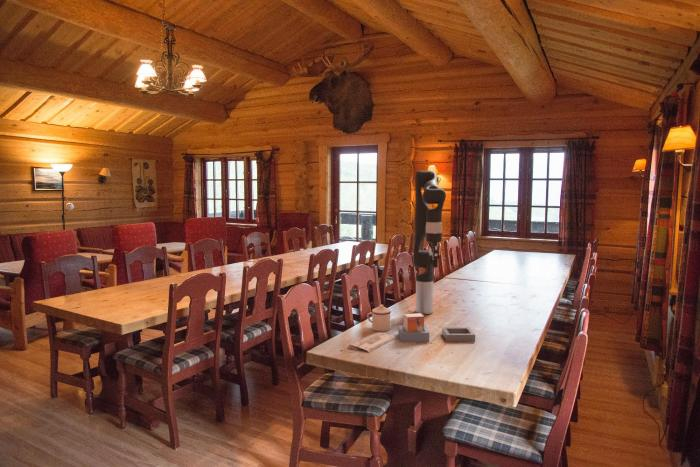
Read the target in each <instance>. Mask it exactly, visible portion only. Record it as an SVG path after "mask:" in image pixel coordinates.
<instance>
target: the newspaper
mask: <svg viewBox="0 0 700 467" xmlns="http://www.w3.org/2000/svg"><path fill="white" fill-rule="evenodd" d="M396 339H397V337H396V336H394V335H391V334H388V333H385V332H382V331H375V332H372V333H370V334H368V335H367V336H365V337H362V338H360V339H359V340H358V341H356V342H353V343H351V344H349V345H348V346H347V347H348V348H349V349H353V350H359V349H361V350H362V349H363V350H364V351H367V352H368V353H371V352H373V351H375V350H377V349H379V348H381V347H383V346H385V345H387V344H388V343H391V342H392V341H394V340H396Z"/></svg>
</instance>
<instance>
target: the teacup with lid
mask: <svg viewBox="0 0 700 467" xmlns="http://www.w3.org/2000/svg"><path fill="white" fill-rule="evenodd" d="M391 313H392V311H391V309H390V308H387V307H385V306H384V304H379V305H378V306H377V307H375V308H372V309H371V312H369V313H367V315H366V318H367V321H368V322H369V323H371V328H372V330H373V331H375V332H388V331H390V330H391ZM370 315H371V317H372V318H371V319H370Z"/></svg>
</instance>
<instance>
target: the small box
mask: <svg viewBox="0 0 700 467" xmlns="http://www.w3.org/2000/svg"><path fill="white" fill-rule="evenodd" d="M424 325H425V315H424V314H421V313H417V312H416V313H404V314H403V326H404V332H424Z"/></svg>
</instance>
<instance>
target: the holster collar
mask: <svg viewBox="0 0 700 467" xmlns="http://www.w3.org/2000/svg"><path fill="white" fill-rule="evenodd" d="M441 334H442V336H443V338H444V340H445V342H476V334H475V332H474V331H473V330H472V329H471V327H470V326H465V327H463V326H462V327H458V326H457V327H454V326H453V327H452V326H451V327H447V326H446V327H442V328H441Z"/></svg>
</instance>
